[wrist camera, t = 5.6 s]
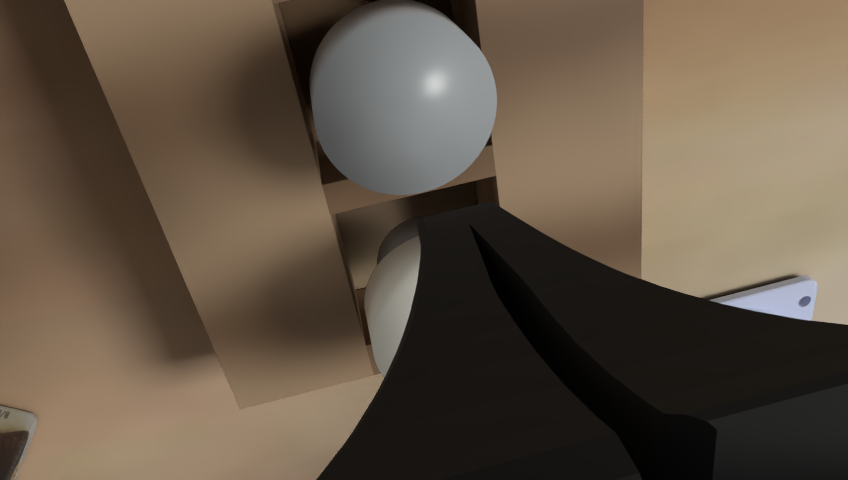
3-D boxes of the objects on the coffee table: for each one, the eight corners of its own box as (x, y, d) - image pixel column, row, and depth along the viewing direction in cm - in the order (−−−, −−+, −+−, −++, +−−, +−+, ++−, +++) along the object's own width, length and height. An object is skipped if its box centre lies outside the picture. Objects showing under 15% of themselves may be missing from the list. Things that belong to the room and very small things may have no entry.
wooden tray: (602, 258, 24) (641, 306, 22) (243, 347, 23) (239, 409, 21) (583, -418, 15) (647, -473, 12) (-22, -317, 14) (-89, -355, 11)
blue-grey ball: (466, 117, 19) (505, 173, 16) (326, 149, 19) (337, 212, 15) (445, -32, 17) (486, -3, 14) (287, 1, 17) (291, 38, 13)
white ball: (498, 295, 21) (538, 377, 18) (371, 327, 21) (390, 417, 17) (482, 181, 19) (526, 250, 16) (342, 215, 18) (357, 293, 15)
